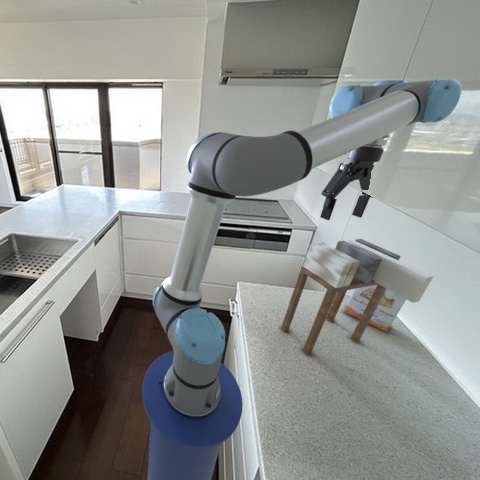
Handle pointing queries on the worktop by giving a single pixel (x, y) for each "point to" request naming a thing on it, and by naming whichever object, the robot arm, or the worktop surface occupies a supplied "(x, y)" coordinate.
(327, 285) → the wooden side table
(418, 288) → the white book
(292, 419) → the worktop surface
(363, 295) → the cracker box
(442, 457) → the worktop surface
